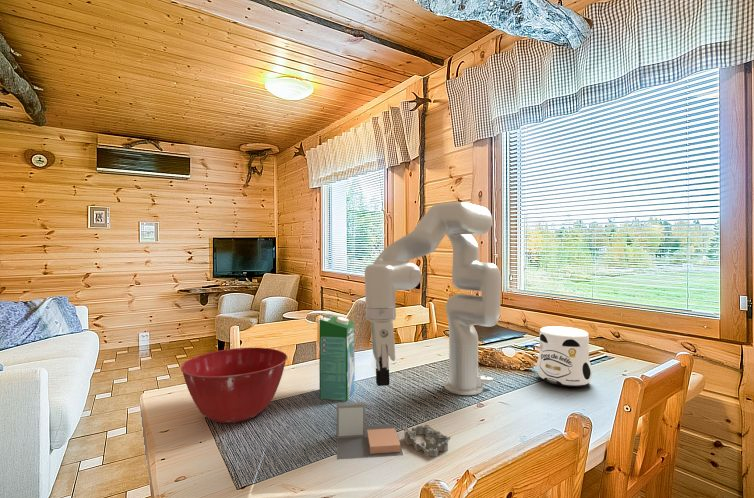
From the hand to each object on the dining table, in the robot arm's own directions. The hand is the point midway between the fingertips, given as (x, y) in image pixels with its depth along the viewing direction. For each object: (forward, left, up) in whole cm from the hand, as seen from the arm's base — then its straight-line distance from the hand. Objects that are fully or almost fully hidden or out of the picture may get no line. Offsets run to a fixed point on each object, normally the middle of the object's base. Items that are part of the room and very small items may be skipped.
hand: (382, 384), depth 97 cm
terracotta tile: (+1, +2, -11) cm, 11 cm away
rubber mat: (+4, +4, -13) cm, 14 cm away
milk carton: (+11, -27, -13) cm, 32 cm away
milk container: (-68, -29, -13) cm, 75 cm away
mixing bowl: (+40, -17, -13) cm, 46 cm away
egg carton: (-10, +7, -13) cm, 18 cm away
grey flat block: (+8, +1, -12) cm, 15 cm away
